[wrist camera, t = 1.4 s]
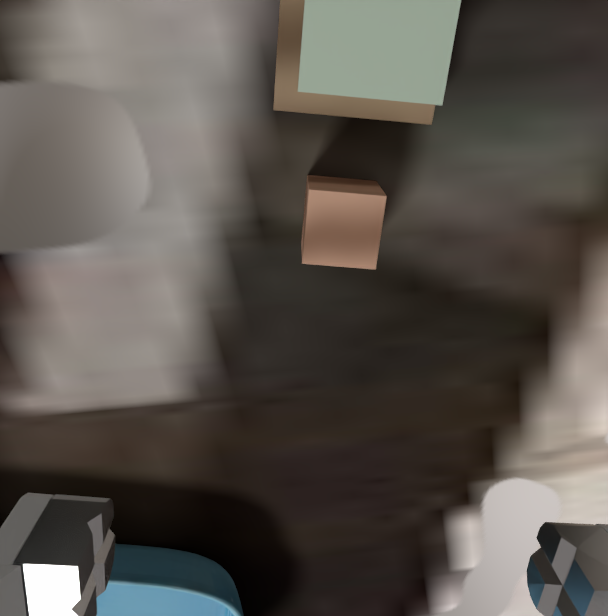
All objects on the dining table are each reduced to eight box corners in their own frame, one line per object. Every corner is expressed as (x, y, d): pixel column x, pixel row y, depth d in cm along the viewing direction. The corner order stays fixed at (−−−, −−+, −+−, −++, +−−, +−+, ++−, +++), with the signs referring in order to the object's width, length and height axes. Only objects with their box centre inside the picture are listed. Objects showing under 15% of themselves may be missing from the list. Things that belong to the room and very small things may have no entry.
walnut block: (286, -68, 33) (285, -84, 30) (446, -50, 34) (465, -64, 30) (275, 105, 37) (273, 110, 34) (418, 118, 38) (431, 124, 34)
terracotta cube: (307, 174, 39) (309, 189, 34) (376, 180, 39) (386, 196, 35) (301, 241, 41) (302, 263, 36) (366, 246, 41) (375, 269, 37)
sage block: (309, -67, 30) (311, -85, 26) (452, -51, 30) (473, -67, 27) (297, 89, 33) (297, 91, 29) (426, 101, 34) (442, 105, 30)
